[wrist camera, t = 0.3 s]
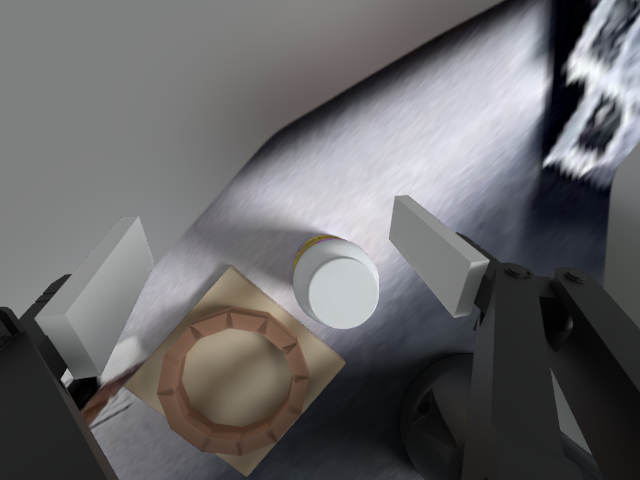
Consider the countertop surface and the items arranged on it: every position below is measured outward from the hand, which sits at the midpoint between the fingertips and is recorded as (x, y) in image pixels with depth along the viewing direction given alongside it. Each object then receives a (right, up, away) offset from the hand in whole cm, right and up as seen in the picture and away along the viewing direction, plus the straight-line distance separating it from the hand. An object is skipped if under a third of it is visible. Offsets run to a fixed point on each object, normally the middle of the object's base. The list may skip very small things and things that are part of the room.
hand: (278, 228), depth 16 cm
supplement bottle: (+3, -3, +16) cm, 17 cm away
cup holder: (-6, -15, +16) cm, 22 cm away
